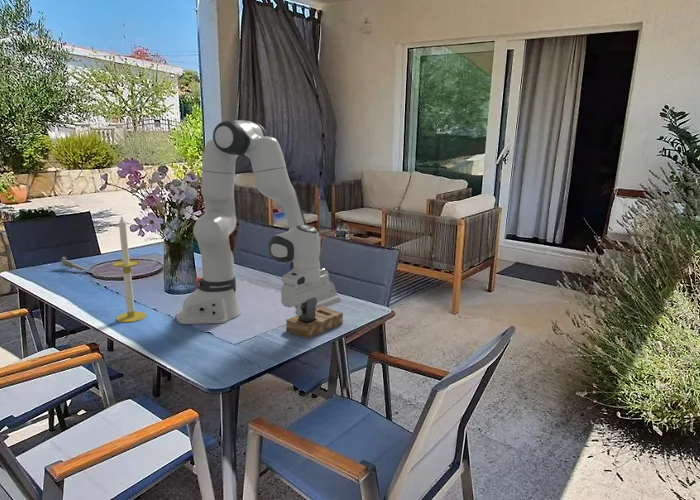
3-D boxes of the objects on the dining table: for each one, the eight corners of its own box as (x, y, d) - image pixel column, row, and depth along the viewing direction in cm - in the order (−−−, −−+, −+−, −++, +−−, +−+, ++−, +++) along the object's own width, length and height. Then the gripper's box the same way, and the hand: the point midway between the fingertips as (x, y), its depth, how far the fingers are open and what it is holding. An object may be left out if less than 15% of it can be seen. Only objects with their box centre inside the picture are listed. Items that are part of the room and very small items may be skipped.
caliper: (61, 269, 232) (60, 256, 230) (63, 268, 233) (62, 256, 231) (93, 275, 224) (91, 262, 223) (95, 274, 225) (93, 261, 224)
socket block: (307, 338, 161) (307, 327, 160) (286, 330, 167) (286, 319, 166) (342, 323, 174) (342, 312, 173) (322, 316, 180) (322, 306, 179)
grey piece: (312, 312, 184) (306, 286, 184) (304, 312, 187) (297, 287, 187) (341, 300, 197) (335, 276, 196) (333, 301, 200) (327, 278, 200)
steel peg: (307, 333, 165) (306, 300, 162) (298, 330, 167) (298, 297, 164) (315, 330, 168) (315, 297, 165) (307, 327, 170) (306, 294, 167)
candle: (131, 324, 169) (121, 218, 160) (109, 320, 173) (98, 216, 164) (152, 314, 179) (143, 214, 169) (130, 310, 182) (121, 211, 173)
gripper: (321, 265, 172) (321, 302, 176) (277, 278, 157) (278, 318, 160) (334, 269, 168) (334, 306, 172) (291, 282, 153) (291, 323, 156)
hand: (306, 312), depth 166 cm, fingers open, 5 cm apart
